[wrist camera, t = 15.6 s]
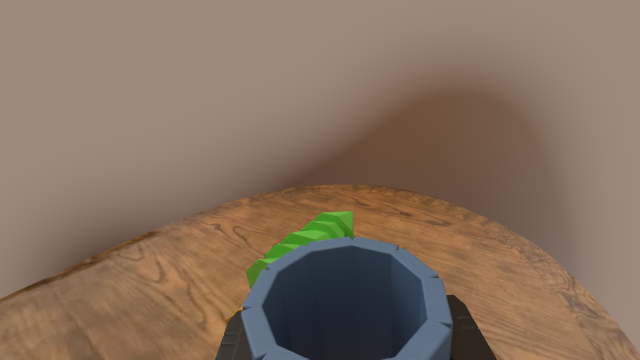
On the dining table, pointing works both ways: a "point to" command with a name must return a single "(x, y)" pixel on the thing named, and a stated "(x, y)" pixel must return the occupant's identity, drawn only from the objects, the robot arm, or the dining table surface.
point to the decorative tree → (305, 240)
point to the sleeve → (348, 305)
